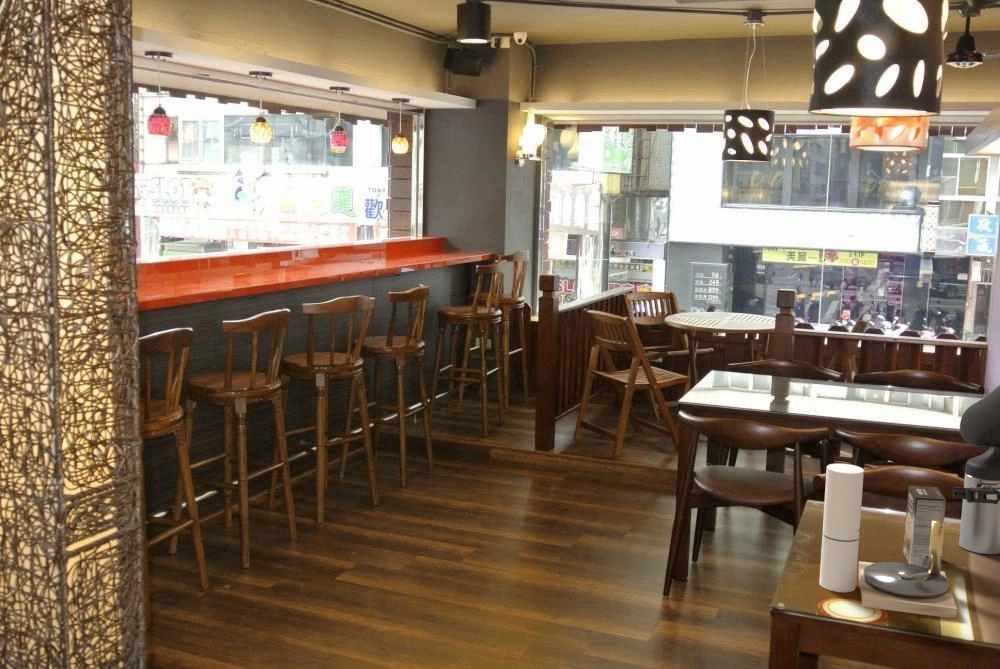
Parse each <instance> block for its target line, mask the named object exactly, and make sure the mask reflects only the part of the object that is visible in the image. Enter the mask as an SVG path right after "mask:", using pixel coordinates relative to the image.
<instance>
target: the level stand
mask: <svg viewBox="0 0 1000 669" xmlns="http://www.w3.org/2000/svg"><path fill="white" fill-rule="evenodd" d="M874 563H875V562H868V561H860V560H859V561H858V566H857V571H858V572H857V573H858V579H859V580H858V581H859V589H860V599H861V600H860V601H861V607H862V608H869V609H878V610H886V611H894V612H901V613H907V614H914V615H915V614H917V615H925V616H932V617H933V616H934V617H940V618H949V619H957V612H958V608H957V605H956V603H955V599H954V596H953V593H952V590H951V587H950V584H949V582H948V591H947V593H946V594H944V595H942V596H939V597H934V598H909V597H902V596H897V595H893V594H889V593H886V592H883V591H880V590H878V589H876V588H874V587H872V586H870V585H869V584H868V583H867V582H866V581H865V580H864V577H863V576H864V569H865V568H866V567H867V566H868V565H871V564H874ZM940 574H941V575H943V576H944V577H945V578H946V579H947V580H948V578H947V575H946V571H943V570H941V571H940Z"/></svg>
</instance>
